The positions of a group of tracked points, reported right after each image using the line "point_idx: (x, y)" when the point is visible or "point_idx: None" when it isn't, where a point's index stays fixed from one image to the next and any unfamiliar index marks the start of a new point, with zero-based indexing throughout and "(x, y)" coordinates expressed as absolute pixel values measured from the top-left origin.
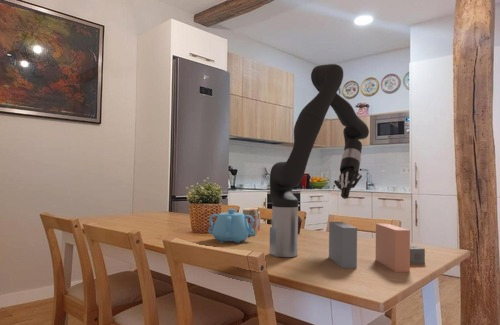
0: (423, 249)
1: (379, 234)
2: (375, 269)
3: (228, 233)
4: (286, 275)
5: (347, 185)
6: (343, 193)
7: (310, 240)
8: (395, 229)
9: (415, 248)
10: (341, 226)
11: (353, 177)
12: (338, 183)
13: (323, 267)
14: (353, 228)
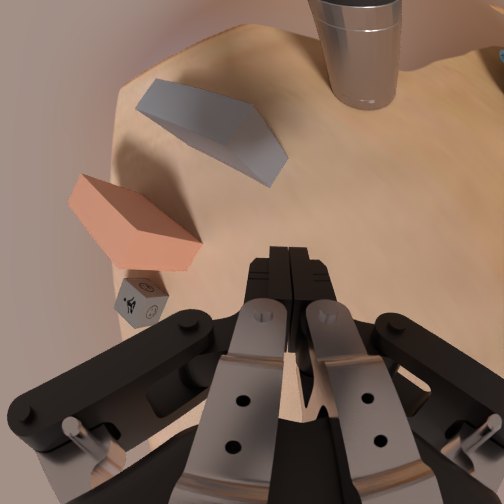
0: (115, 304)
1: (141, 219)
2: (165, 172)
3: (501, 51)
4: (233, 34)
5: (237, 326)
6: (282, 257)
7: (494, 307)
8: (82, 182)
9: (122, 294)
10: (167, 84)
11: (92, 384)
12: (450, 385)
13: (230, 94)
14: (141, 101)
